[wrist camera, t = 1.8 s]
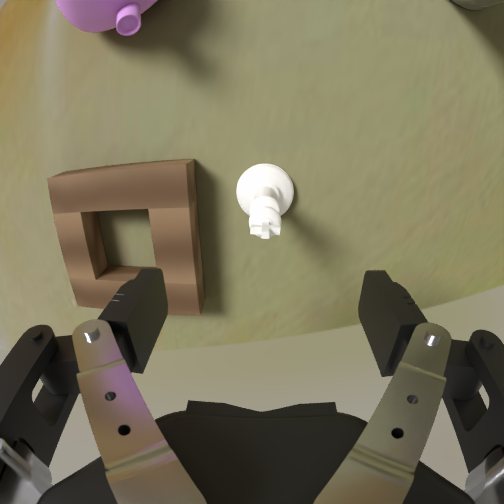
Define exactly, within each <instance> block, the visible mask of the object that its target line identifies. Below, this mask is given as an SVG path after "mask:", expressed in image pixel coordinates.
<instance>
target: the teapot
mask: <svg viewBox="0 0 504 504" xmlns="http://www.w3.org/2000/svg"><path fill="white" fill-rule="evenodd" d="M156 1H158V0H56V3H57V5H58V7H59V9H60V11H61V12H62V14H63V15H64V16H65V18H66V19H67V20H68V21H69V22H70V23H71V24H73V25H74V26H75V27H77V28H79V29H81V30H83V31H86V32H92V33H95V32H103V31H107V30H110V29H113V28H116V29H117V31H118V33H119V34H121V35H124V36H130V35H133V34H135V33H136V32H137V31H138V30H139V29H140V27H141V14H142V13H143V12H145V11H146V10H147V9H148V8H150V7H151V6H152V5H153V4H154V3H155V2H156Z"/></svg>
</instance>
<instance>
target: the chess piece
mask: <svg viewBox="0 0 504 504" xmlns="http://www.w3.org/2000/svg"><path fill="white" fill-rule="evenodd" d="M236 192H237V199H238V202H239V204H240V206H241V208H242V209H243V210H244V211H245V212H246V213H247V214H248V215H250V218H249V226H250V234H255V235H257V236H259V237H261V239H269V237H272V236H274V235H280V228H281V223H282V221H281V217H280V216H281V215H282V214H284V213H285V212H286V211H287V210H288V208H289V207H290V205H291V203H292V200H293V195H294V187H293V183H292V181H291V179H290V177H289V175H288V174H287V173H286V172H285V171H284V170H283V169H281V168H280V167H278V166H275V165H272V164H258V165H255V166H252V167H251V168H249V169H247V170H246V171H245V172H244V173H243V174H242V176H241V177H240V179H239V181H238V184H237V191H236Z"/></svg>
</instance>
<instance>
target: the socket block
mask: <svg viewBox="0 0 504 504" xmlns="http://www.w3.org/2000/svg"><path fill="white" fill-rule="evenodd" d="M47 181H48V188H49V194H50V200H51V205H52V210H53V215H54V220H55V225H56V229H57V234H58V238H59V242H60V246H61V250H62V254H63V258H64V262H65V265H66V269H67V272H68V276H69V279H70V282H71V286H72V289H73V292H74V295H75V298H76V301H77V304H78V306H82V307H91V308H100V309H105V308H106V306H107V305H108V303H109V302H110V301H111V299H112V298H113V296H114V295H116V292H117V291H118V290H119V288H120V287H121V286H122V285H123V284H125V283H126V282H128V281H129V280H131V279H132V280H134V279H135V277H136V276H137V275H138V273H139V272H140V270H141V269H142V268H160V269H162V272H163V276H164V282H165V288H166V294H167V300H168V314H177V315H196V316H200V315H201V311H202V308H203V305H204V301H205V289H204V279H203V269H202V258H201V247H200V235H199V222H198V208H197V193H196V176H195V159H182V160H166V161H153V162H141V163H130V164H120V165H111V166H103V167H95V168H87V169H80V170H73V171H66V172H63V173H60V174H58V175H55V176H53V177H50V178H48V179H47ZM130 209H148V211H149V219H150V226H151V234H152V241H153V247H154V254H155V260H156V266H157V267H132V266H108V263H107V259H106V254H105V250H104V245H103V240H102V235H101V230H100V224H99V219H98V213H97V211H109V210H130Z"/></svg>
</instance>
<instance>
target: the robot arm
mask: <svg viewBox="0 0 504 504" xmlns="http://www.w3.org/2000/svg"><path fill="white" fill-rule="evenodd" d="M452 1H453V2H454V3H456V4H458V5H460V6H462V7H464V8H467V9H469V10H481V9H484V8H487V7H490V6H493V5H497V4H500V3H504V0H452ZM358 313H359V319H360V321H361V324H362V326H363V329H364V331H365V334H366V336H367V339H368V341H369V344H370V346H371V349H372V351H373V354H374V357H375V359H376V362H377V365H378V367H379V370H380V373H381V375H382V377H385V376H393V377H392V380H391V381H390V384H389V385H388V388H387V389H386V391H385V393H384V395H383V397H382V399H381V401H380V403H379V404H378V406H377V408H376V410H375V412H374V413H373V415H372V417H371V419H370V420H369V422H366V421H364V420H362V419H360V418H358V417H355V416H352V415H349V414H345V413H339V412H337V409H336V405H335V402H328V403H309V404H298V405H293V406H289V407H284V408H280V409H275V410H271V411H265V412H259V411H254V410H250V409H246V408H241V407H237V406H233V405H229V404H226V403H215V402H201V401H190V400H188V404H187V409H186V411H179V412H174V413H170V414H167V415H164V416H162V417H160V418H157V419H155V420H154V418H153V417H152V415H151V413H150V411H149V409H148V407H147V405H146V403H145V401H144V399H143V397H142V395H141V393H140V391H139V389H138V387H137V385H136V383H135V381H134V379H133V377H132V375H131V373H132V372H134V373H141V374H142V373H143V372H144V369H145V367H146V364H147V362H148V359H149V357H150V355H151V352H152V350H153V348H154V345H155V343H156V340H157V338H158V336H159V333H160V331H161V329H162V326H163V324H164V322H165V319H166V317H167V314H168V300H167V294H166V288H165V282H164V276H163V272H162V269H160V268H142V269H141V270H140V272H139V273H138V275H137V276H136V277H135V279H134V280H132V279H131V280H129V281H128V282H126V283H125V284H123V285H122V286H121V287H120V288H119V290H118V291H117V292H116V295H114V296H113V298H112V299H111V301H110V302H109V303H108V305H107V306H106V308H105V309H104V310H103V312H102V313H101V315H100V316H99V318H98V319H94V320H89V321H86V322H84V323H82V324H80V325H79V326H77V327H76V329H75V330H74V331H73V334H72V335H69V336H59V337H55V335H54V333H53V330H52V328H51V327H50V326H48V325H37V326H34V327H32V328H30V329H28V330H27V331H26V332H25V333H24V334H23V335H22V336H21V338H20V339H19V340H18V342H17V343H16V344H15V346H14V347H13V348H12V350H11V351H10V353H9V354H8V355H7V357H6V358H5V359H4V361H3V363H2V364H1V365H0V504H504V344H503V343H502V342H501V340H500V339H499V338H498V337H497V336H496V335H495V334H493V333H491V332H489V331H486V330H476V331H475V332H473V333H472V335H471V337H470V340H469V341H461V340H453V339H451V336H450V334H449V332H448V331H447V330H446V329H445V328H443V327H442V326H439V325H437V324H434V323H428V321H427V319H426V318H425V316H424V315H423V313H422V312H421V310H420V309H419V308H418V306H417V305H416V304H415V302H414V300H413V299H412V298H411V296H410V294H409V293H408V292H407V290H406V289H405V288H404V287H402V286H401V285H400V284H398V283H397V282H393V281H392V280H391V278H390V277H389V275H388V274H387V272H386V271H385V270H369V271H366V273H365V275H364V280H363V285H362V291H361V296H360V301H359V307H358ZM39 378H40V379H41V381H42V383H43V384H44V385H43V386H42V388H41V390H40V392H39V394H38V396H37V398H36V399H35V401H34V403H33V401H32V391H33V389H34V387H35V385H36V384H37V382H38V380H39ZM482 385H483V386H484V388H485V390H486V392H487V394H488V396H489V408H488V410H487V408H486V406H485V404H484V402H483V399H482V397H481V395H480V393H479V389H480V388H481V386H482ZM79 393H81V396H82V399H83V403H84V407H85V410H86V413H87V416H88V420H89V423H90V426H91V429H92V432H93V435H94V438H95V441H96V444H97V447H98V449H99V452H100V455H101V456H100V457H99V458H97V459H96V460H94V461H93V462H91V463H89V464H88V465H86V466H85V467H83V468H82V469H80V470H78V471H77V472H75V473H74V474H72V475H70V476H69V477H67V478H65V479H64V480H62V481H60V482H59V483H57V484H55V485H52V484H51V482H52V477H51V472H50V470H49V465H50V462H51V460H52V457H53V454H54V452H55V449H56V447H57V444H58V442H59V439H60V436H61V434H62V431H63V429H64V427H65V424H66V422H67V419H68V417H69V415H70V412H71V410H72V408H73V406H74V403H75V401H76V399H77V396H78V394H79ZM441 398H443V400H444V403H445V405H446V408H447V410H448V413H449V415H450V418H451V421H452V424H453V426H454V429H455V432H456V435H457V438H458V441H459V444H460V447H461V450H462V453H463V456H464V459H465V463H466V466H467V469H468V473H469V475H468V477H467V479H466V483H465V490H464V491H463V490H461V489H460V488H458V487H457V486H455V485H454V484H452V483H451V482H449V481H448V480H446V479H445V478H444V477H442V476H440V475H439V474H438V473H436V472H435V471H433V470H432V469H431V468H429V467H428V466H426V465H425V464H424V463H422V462H421V461H419V459H420V457H421V454H422V452H423V449H424V447H425V445H426V442H427V439H428V437H429V434H430V431H431V428H432V426H433V423H434V420H435V417H436V414H437V411H438V407H439V404H440V401H441Z"/></svg>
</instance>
